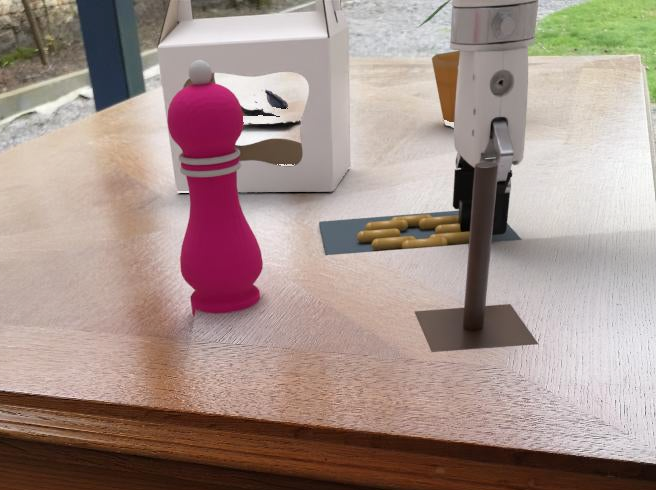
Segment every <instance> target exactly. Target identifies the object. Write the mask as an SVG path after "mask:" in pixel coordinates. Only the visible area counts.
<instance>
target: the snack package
mask: <svg viewBox="0 0 656 490" xmlns="http://www.w3.org/2000/svg"><path fill="white" fill-rule="evenodd" d="M263 91H264V92H265V94H266V100H267V103H268V105H270V107H271V108H272V107H276V108H281V109H286V108H287V107H289V104H288V103H287V101H286V100H284V99H283V98H282V97H281V96H279V95H277V93H273V91H271V90H268V89H265V90H262V89H261V92H263ZM255 95H256V94H254V95H253V96H255ZM254 103H255V104H258V101H254ZM241 109H242V113H243V116H258V115H263V116H276V115H274V114H272V112H265V111H264V108H261V109H260V108H257V107H256V108H255V109H248V108H245V107H243V106H242V105H241ZM287 109H288V108H287ZM276 117H280V116H276Z"/></svg>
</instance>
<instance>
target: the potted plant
mask: <svg viewBox="0 0 656 490" xmlns="http://www.w3.org/2000/svg"><path fill="white" fill-rule="evenodd" d="M450 2H451V0H447V1H446V2H445V3H442V4H441V5H440V6H439V7H437V9H436V10H434V12H433V13H432V14H431V15H429V16H428V17H427V18H426V19H425V20H424V21H423V22H421V24H420V25H419V26H418V28H420V27H422V26H423V25H425V24H426V23H427V22H429V21H430V20H431V19H433V18H434V17H435V16H436V15H437V14H438V13H439V12H440V11H441V10H442V9H443V8H444V7H446V5H447V4H448V3H450ZM459 57H460V51H458V50H453V51H449V52H443V53H438V54H435V55H433V56H432V57H431V62H432V68H433V73H434V78H435V83H436V88H437V93H438V98H439V99H438V100H439V105H440V109H441V115H442V120H443V119H444V120H447V121H449V122H454V117H455V101H456V88H457V77H458V65H459ZM444 120H443V121H444Z"/></svg>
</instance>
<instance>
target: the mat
mask: <svg viewBox="0 0 656 490" xmlns="http://www.w3.org/2000/svg"><path fill="white" fill-rule="evenodd" d="M414 215H431V216H432V217H443V216H456V215H457V216H459V210H447V211H446V210H445V211H435V212H421V213H411V214H410V213H409V214H398V215H386V216H385V215H384V216H374V217H373V216H372V217H361V218H360V217H359V218H346V219H337V220H335V219H334V220H323V221H319V222H318V225H319V226H318V227H319V231H320V236H321V239H322V245H323V249H324V253H325V256H333V255H334V256H336V255H349V254H360V253H361V254H362V253H372V252H376V251H375V250H373V249H372V243H360V242H358V240H357V235H358V233H359V232H361V231H366V230H365V226H366V225H367V223H369V222H380V221H391V220H392V218H394V217H402V216H414ZM400 233H401V236H400V237H405V236H413V237H415V238H416V239H428V238H429V237H430V236H431V235H433V234H435V229H428V230H422V229H421V228H420V227H410V228H407V229H406V230H405V231H402V232H400ZM522 240H523V239H522V238H521V237H520V235H519V234H518V233H517V232H516V231H515V230H514V229H513V227H511V226H510V224H509V223H508V222H507V229H506V232H505V233H504V234H500V235H492V241H491V243H501V242H513V241H522ZM462 245H465V244H462ZM449 246H452V245H449ZM449 246H448V247H449ZM398 250H399V251H400V250H401V249H398ZM398 250H397V251H398ZM385 251H386V252H387V251H388V250H385Z"/></svg>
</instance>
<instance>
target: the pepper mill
mask: <svg viewBox="0 0 656 490" xmlns="http://www.w3.org/2000/svg"><path fill="white" fill-rule="evenodd" d="M189 77H190V80H191V82H192V83H193V84H192V85H189V86H187V87H185V88H183V89H182V90H180V91H179V92H178V93H177V94H176V95H175V96H174V97H173V99H172V101H171V103H170V105H169V109H168V118H166V121H167V120H168V125H167V129H168V128H169V132H170V135H171V137H172V139H173V140H174V141H175V142H176V143H177V144H178V145H179V147H180V148H181V149H182V152H183V153H181V154H180V155H179V161H180V162H181V168H180V172H181V173H182V174H183V175H186V178H187V182H188V187H189V194H188V195H189V215H188V216H189V217H188V222H187V225H186V229H185V233H184V237H183V240H182V243H181V250H180V258H179V261H180V262H179V263H180V265H179V266H180V273H181V276H182V278H183V280H184V281H185V282H186V283H187V285H189V286H190V287H191V288H192V289H193V290H194V291H193V292H192V293H191V294H190V297H189V298H190V299H189V300H190V306H191V312H192V313H191V314H192V316H193V317H195V315H196V310H197V311H198V312H202V313H208V314H227V313H228V314H229V313H236V312H240V311H242V310H246V309H249V308H251V307H252V306H254V305H256V304H257V303H258V302H259V301H260V299H261V292H260V289H259V287H257V286H256V285H255V283H256V281H257V280H258V279H259V277H260V275H261V273H262V271H263V268H264V263H263V256H262V250H261V247H260V244H259V242H258V238H257V236H256V235H255V233H254V232H253V230H252V228H251V226H250V224H249V223H248V220H247V218H246V216H245V214H244V213H243V208H242V204H241V203H240V196H239V193H238V190H237V170H238V169H240V167H241V162H240V161H239V157H238V156H239V155H240V150H239V149H238V148H235V145H237V144H236V143H237V141H238V140H239V139H240V136H241V135H242V132H243V129H244V125H245V124H244V122H243V113H242V109H241V106H242V105H241V103H240V101H239V99H238V98H237V96H236V95H235V94H234V92H233V91H232V90H230V89H229V88H228V87H226V86H225V85H222V84H219V83H216V82H215V83H216V84H215V83H209V82H210V80H211V77H212V71H211V68H210V66H209V65H208V63H207V62H205V61H203V60H197V61H194V62H193V63H192V64H191V66H190V68H189ZM169 132H168V133H169Z"/></svg>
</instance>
